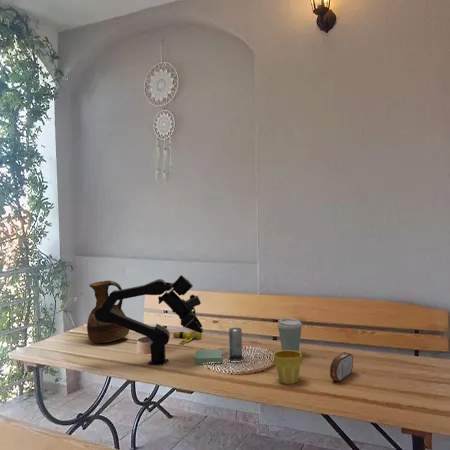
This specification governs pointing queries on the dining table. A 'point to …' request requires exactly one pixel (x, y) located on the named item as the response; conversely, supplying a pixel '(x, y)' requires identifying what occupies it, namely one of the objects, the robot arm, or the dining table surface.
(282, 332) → the disposable coffee cup
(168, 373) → the dining table surface
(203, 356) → the green square slab
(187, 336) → the sprinkler
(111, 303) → the robot arm
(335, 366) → the tin
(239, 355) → the cylinder
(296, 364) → the plant pot
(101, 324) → the ceramic pitcher
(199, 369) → the dining table surface
